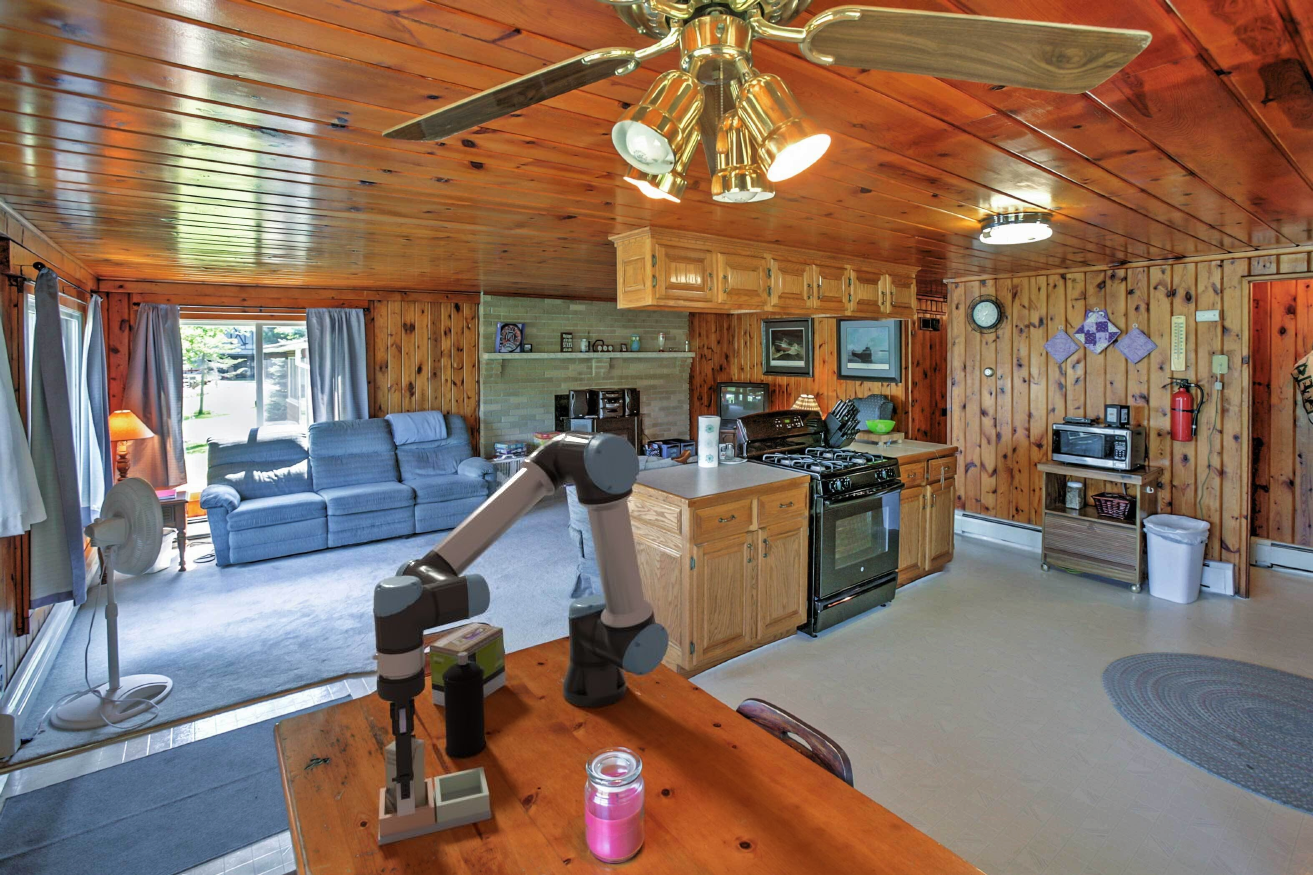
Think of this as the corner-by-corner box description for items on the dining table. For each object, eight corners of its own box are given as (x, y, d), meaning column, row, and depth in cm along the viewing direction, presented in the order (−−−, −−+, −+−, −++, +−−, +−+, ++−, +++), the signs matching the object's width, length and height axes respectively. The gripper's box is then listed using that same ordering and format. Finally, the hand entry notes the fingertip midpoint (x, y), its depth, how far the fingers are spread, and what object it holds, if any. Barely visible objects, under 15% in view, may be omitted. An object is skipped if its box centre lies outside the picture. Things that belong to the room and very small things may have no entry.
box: (385, 819, 113) (382, 747, 112) (402, 803, 118) (399, 734, 116) (411, 825, 112) (408, 753, 111) (428, 809, 116) (425, 739, 115)
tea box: (474, 676, 168) (472, 620, 167) (506, 685, 164) (505, 626, 162) (430, 704, 155) (428, 642, 153) (464, 713, 150) (462, 650, 149)
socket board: (484, 784, 124) (483, 764, 124) (491, 818, 115) (490, 796, 115) (380, 807, 118) (378, 786, 118) (378, 845, 109) (377, 822, 108)
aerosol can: (475, 761, 132) (471, 664, 130) (437, 756, 134) (433, 660, 131) (493, 738, 140) (490, 646, 138) (457, 734, 142) (454, 643, 139)
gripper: (378, 648, 121) (383, 766, 123) (374, 703, 101) (380, 843, 103) (422, 642, 124) (426, 757, 126) (427, 695, 103) (432, 831, 106)
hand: (405, 796), depth 114 cm, fingers open, 9 cm apart
